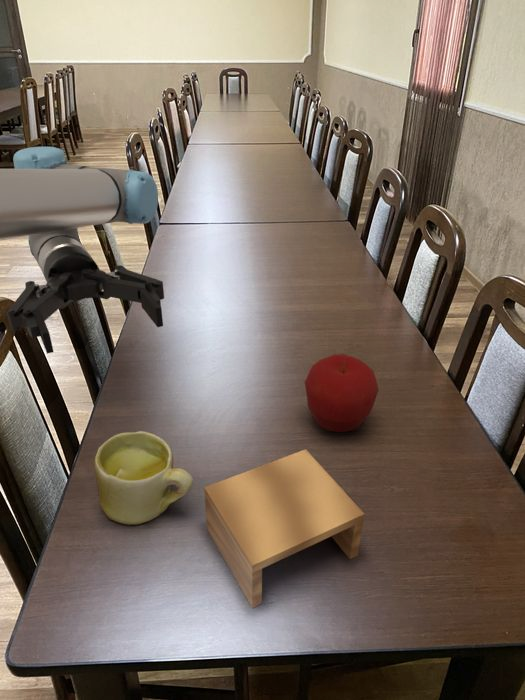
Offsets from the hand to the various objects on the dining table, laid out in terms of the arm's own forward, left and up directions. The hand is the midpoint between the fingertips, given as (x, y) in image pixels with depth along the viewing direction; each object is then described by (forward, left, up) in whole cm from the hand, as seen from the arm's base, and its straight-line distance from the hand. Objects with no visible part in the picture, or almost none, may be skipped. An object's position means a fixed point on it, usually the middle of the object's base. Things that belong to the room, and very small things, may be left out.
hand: (106, 329), depth 65 cm
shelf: (+12, -23, -21) cm, 33 cm away
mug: (0, -10, -21) cm, 23 cm away
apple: (+31, -8, -21) cm, 38 cm away
